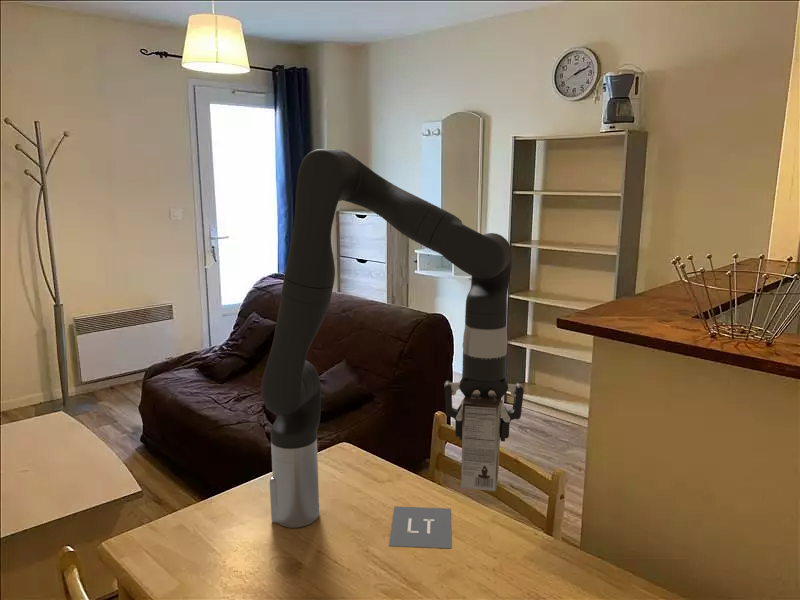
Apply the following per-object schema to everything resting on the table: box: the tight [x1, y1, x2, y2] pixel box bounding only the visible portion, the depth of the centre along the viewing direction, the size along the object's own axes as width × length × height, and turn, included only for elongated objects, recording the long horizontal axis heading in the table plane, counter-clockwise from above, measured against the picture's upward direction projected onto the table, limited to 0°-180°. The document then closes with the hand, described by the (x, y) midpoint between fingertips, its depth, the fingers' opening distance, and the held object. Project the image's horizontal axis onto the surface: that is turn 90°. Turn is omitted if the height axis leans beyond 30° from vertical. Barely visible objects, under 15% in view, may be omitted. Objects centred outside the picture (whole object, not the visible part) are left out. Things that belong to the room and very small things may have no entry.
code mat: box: [388, 505, 453, 550], centre depth 124 cm, size 12×14×1 cm
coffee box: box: [460, 396, 503, 492], centre depth 110 cm, size 9×6×16 cm
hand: (481, 438), depth 110 cm, fingers closed on coffee box, 7 cm apart
